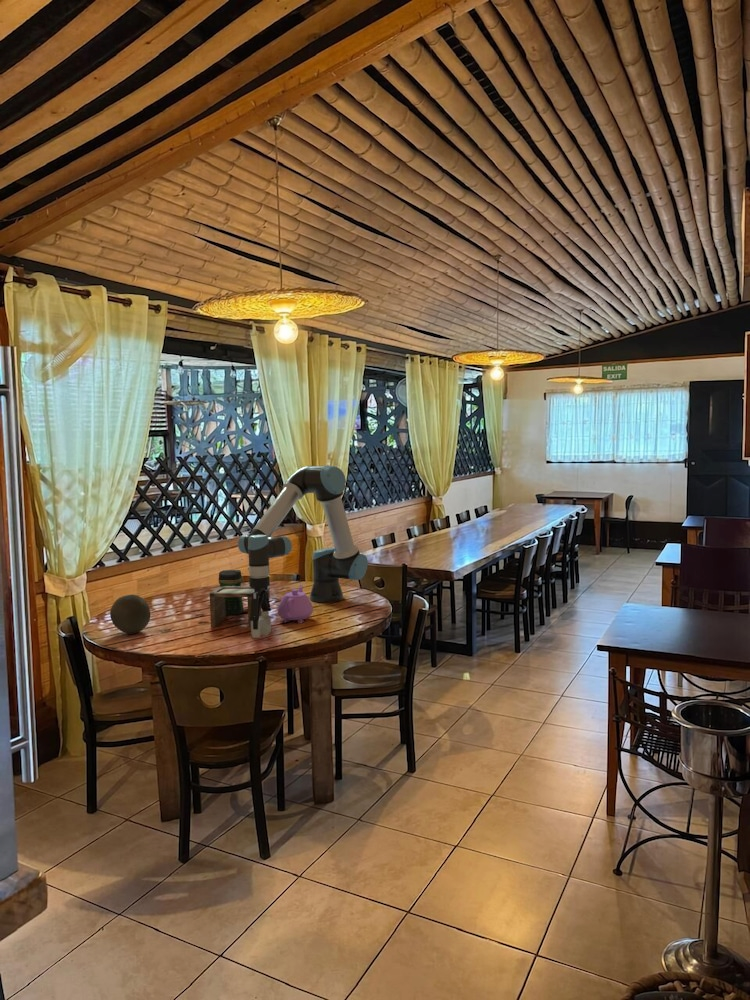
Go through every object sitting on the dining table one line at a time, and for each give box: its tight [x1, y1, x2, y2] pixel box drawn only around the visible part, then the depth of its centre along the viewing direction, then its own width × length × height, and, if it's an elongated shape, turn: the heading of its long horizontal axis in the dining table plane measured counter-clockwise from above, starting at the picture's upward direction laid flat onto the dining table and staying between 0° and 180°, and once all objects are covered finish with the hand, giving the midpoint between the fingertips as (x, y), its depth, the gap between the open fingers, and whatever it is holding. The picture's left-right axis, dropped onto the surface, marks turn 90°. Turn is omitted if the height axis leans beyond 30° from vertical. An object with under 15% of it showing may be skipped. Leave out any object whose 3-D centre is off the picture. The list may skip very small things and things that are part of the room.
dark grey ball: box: [109, 594, 151, 635], centre depth 258 cm, size 14×14×15 cm
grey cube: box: [250, 615, 272, 637], centre depth 256 cm, size 6×6×6 cm
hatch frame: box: [209, 585, 262, 628], centre depth 271 cm, size 17×13×14 cm
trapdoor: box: [219, 587, 270, 599], centre depth 270 cm, size 19×8×4 cm, turn 84°
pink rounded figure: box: [277, 584, 314, 624], centre depth 274 cm, size 20×14×12 cm
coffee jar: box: [217, 569, 244, 616], centre depth 286 cm, size 10×8×19 cm
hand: (261, 632), depth 256 cm, fingers open, 12 cm apart
